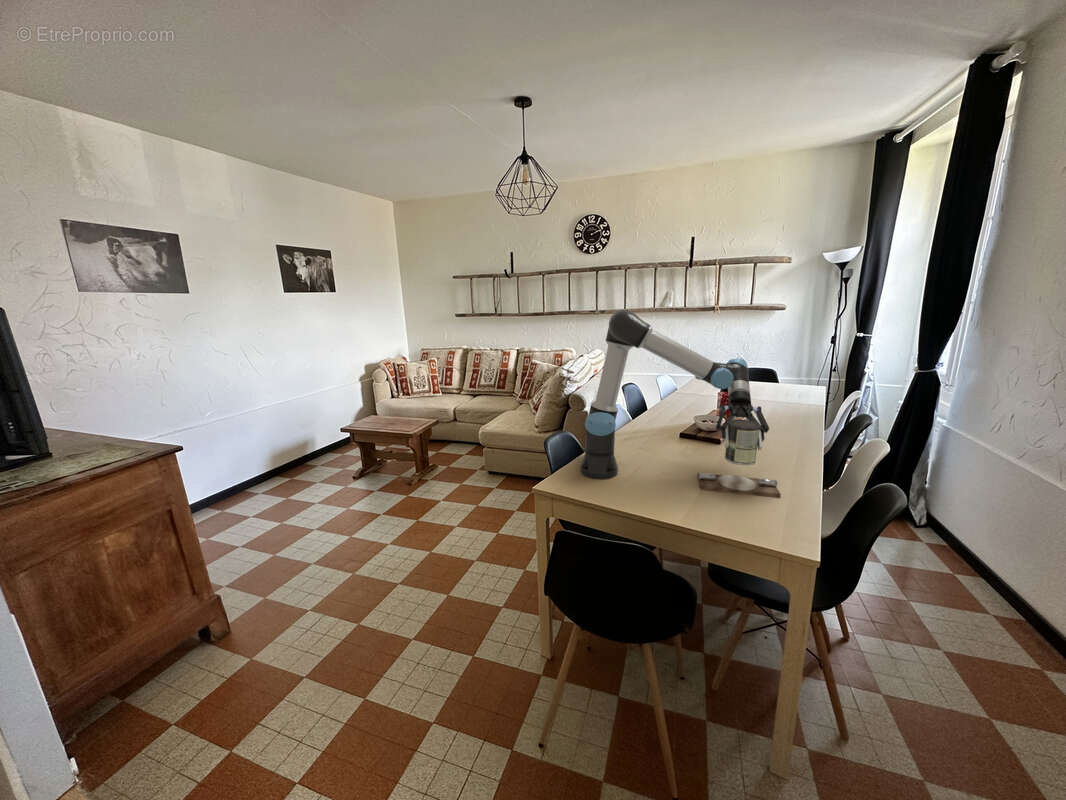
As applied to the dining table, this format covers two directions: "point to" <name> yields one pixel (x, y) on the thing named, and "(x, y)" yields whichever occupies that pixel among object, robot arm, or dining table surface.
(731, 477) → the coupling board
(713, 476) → the shaft stubs
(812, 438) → the dining table surface
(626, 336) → the robot arm
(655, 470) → the dining table surface
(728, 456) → the coffee can
